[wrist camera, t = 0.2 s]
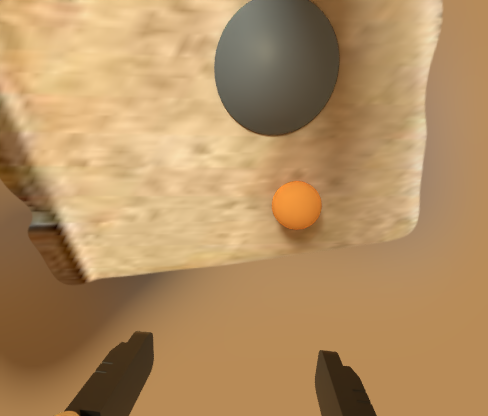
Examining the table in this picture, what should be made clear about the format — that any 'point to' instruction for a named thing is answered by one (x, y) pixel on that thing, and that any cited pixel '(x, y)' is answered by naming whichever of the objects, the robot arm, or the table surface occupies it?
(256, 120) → the dark grey flat disc
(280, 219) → the ball
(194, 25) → the table surface
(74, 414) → the robot arm
